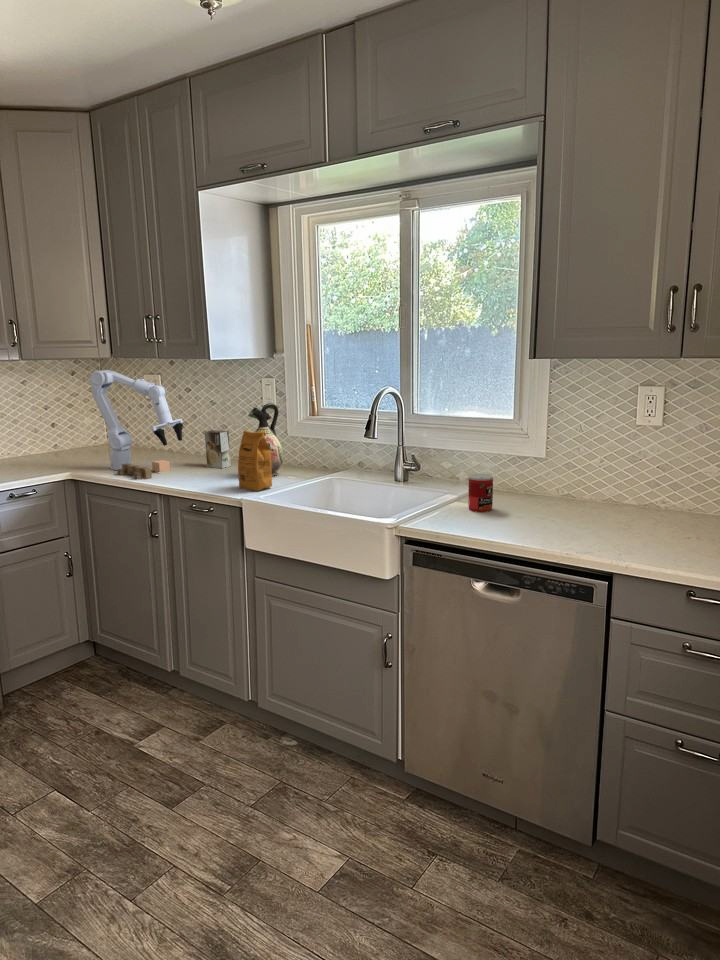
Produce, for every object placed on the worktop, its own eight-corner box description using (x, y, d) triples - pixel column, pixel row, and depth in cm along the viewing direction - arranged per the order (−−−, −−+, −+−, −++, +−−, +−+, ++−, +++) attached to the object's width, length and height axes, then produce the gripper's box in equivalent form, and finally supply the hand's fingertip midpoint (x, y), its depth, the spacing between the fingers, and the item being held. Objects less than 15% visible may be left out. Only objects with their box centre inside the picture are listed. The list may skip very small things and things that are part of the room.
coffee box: (231, 466, 308) (229, 430, 305) (222, 468, 302) (220, 432, 299) (215, 464, 312) (213, 429, 309) (206, 467, 307) (203, 431, 303)
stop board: (115, 474, 294) (115, 465, 293) (127, 472, 298) (126, 463, 297) (139, 480, 281) (139, 470, 280) (151, 478, 285) (150, 468, 284)
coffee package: (254, 484, 269) (252, 428, 265) (276, 488, 261) (273, 430, 257) (234, 488, 262) (231, 431, 257) (256, 492, 254) (253, 433, 249)
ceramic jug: (251, 480, 276) (247, 405, 269) (243, 473, 290) (239, 402, 284) (292, 476, 282) (289, 403, 276) (282, 470, 296) (279, 400, 290)
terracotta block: (152, 471, 299) (151, 461, 298) (162, 470, 303) (162, 460, 302) (159, 473, 295) (159, 463, 294) (170, 471, 299) (169, 461, 298)
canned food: (480, 513, 218) (481, 479, 216) (463, 508, 224) (463, 475, 222) (497, 509, 222) (498, 476, 220) (479, 505, 229) (480, 472, 226)
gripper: (152, 415, 290) (163, 446, 292) (181, 407, 300) (191, 437, 302) (145, 418, 295) (155, 448, 297) (173, 410, 305) (183, 439, 307)
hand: (173, 442), depth 300 cm, fingers open, 7 cm apart
